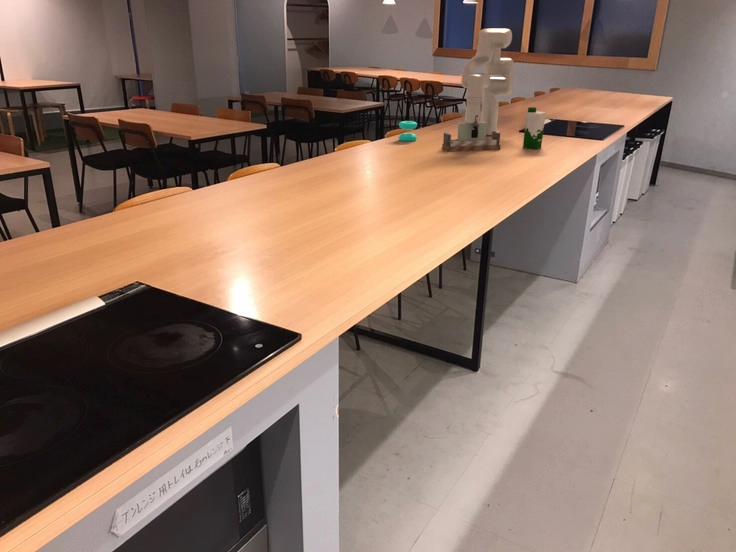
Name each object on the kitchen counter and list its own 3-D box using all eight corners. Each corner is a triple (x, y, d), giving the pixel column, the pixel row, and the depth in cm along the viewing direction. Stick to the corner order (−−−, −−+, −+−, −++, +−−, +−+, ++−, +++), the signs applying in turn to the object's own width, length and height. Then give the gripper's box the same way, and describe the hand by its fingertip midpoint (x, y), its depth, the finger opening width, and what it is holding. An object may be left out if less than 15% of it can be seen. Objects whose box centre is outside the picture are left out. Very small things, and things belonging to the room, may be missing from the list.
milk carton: (527, 145, 308) (531, 106, 300) (543, 147, 303) (548, 107, 295) (520, 148, 301) (524, 108, 293) (537, 150, 296) (541, 109, 288)
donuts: (398, 123, 314) (399, 120, 324) (398, 141, 318) (399, 138, 328) (417, 123, 314) (417, 120, 323) (416, 142, 317) (416, 138, 327)
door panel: (459, 145, 297) (460, 123, 293) (457, 144, 299) (458, 122, 295) (485, 144, 299) (486, 122, 295) (483, 143, 302) (484, 121, 298)
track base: (448, 151, 293) (448, 135, 290) (442, 147, 302) (442, 132, 299) (500, 149, 298) (501, 133, 295) (492, 145, 307) (494, 130, 304)
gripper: (461, 98, 298) (459, 134, 305) (473, 102, 282) (470, 139, 289) (475, 98, 299) (472, 133, 306) (487, 102, 283) (484, 139, 290)
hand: (471, 136), depth 297 cm, fingers open, 7 cm apart
